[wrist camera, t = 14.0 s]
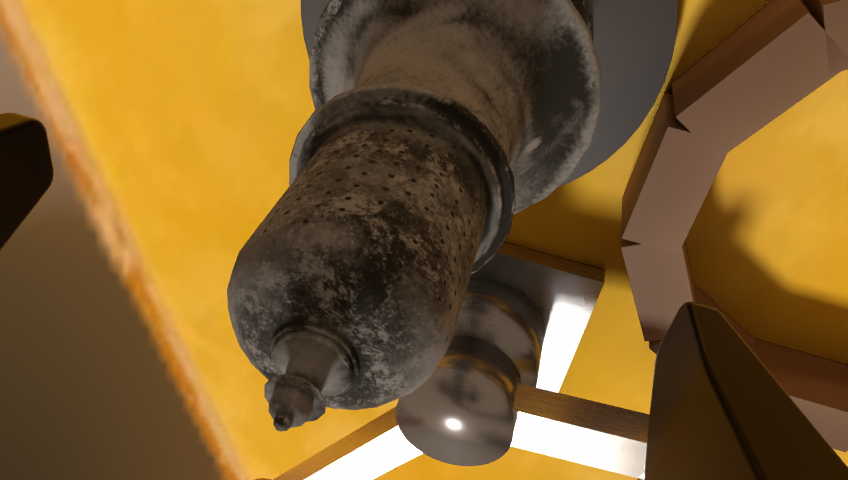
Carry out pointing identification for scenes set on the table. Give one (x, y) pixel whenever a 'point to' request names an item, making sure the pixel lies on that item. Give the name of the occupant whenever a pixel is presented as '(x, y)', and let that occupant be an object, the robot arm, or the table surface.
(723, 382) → the robot arm
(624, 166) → the table surface
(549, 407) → the clamp
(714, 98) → the socket ring
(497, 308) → the pivot block
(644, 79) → the pad
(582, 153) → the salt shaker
